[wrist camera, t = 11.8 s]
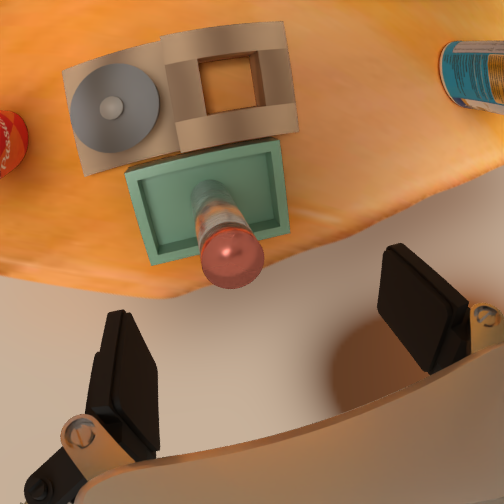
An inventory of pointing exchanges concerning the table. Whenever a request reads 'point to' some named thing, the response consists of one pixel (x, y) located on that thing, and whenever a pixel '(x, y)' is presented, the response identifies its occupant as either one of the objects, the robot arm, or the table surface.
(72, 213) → the table surface
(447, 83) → the beverage bottle
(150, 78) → the block
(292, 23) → the table surface
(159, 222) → the tray
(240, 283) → the pin
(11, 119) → the paper cup
